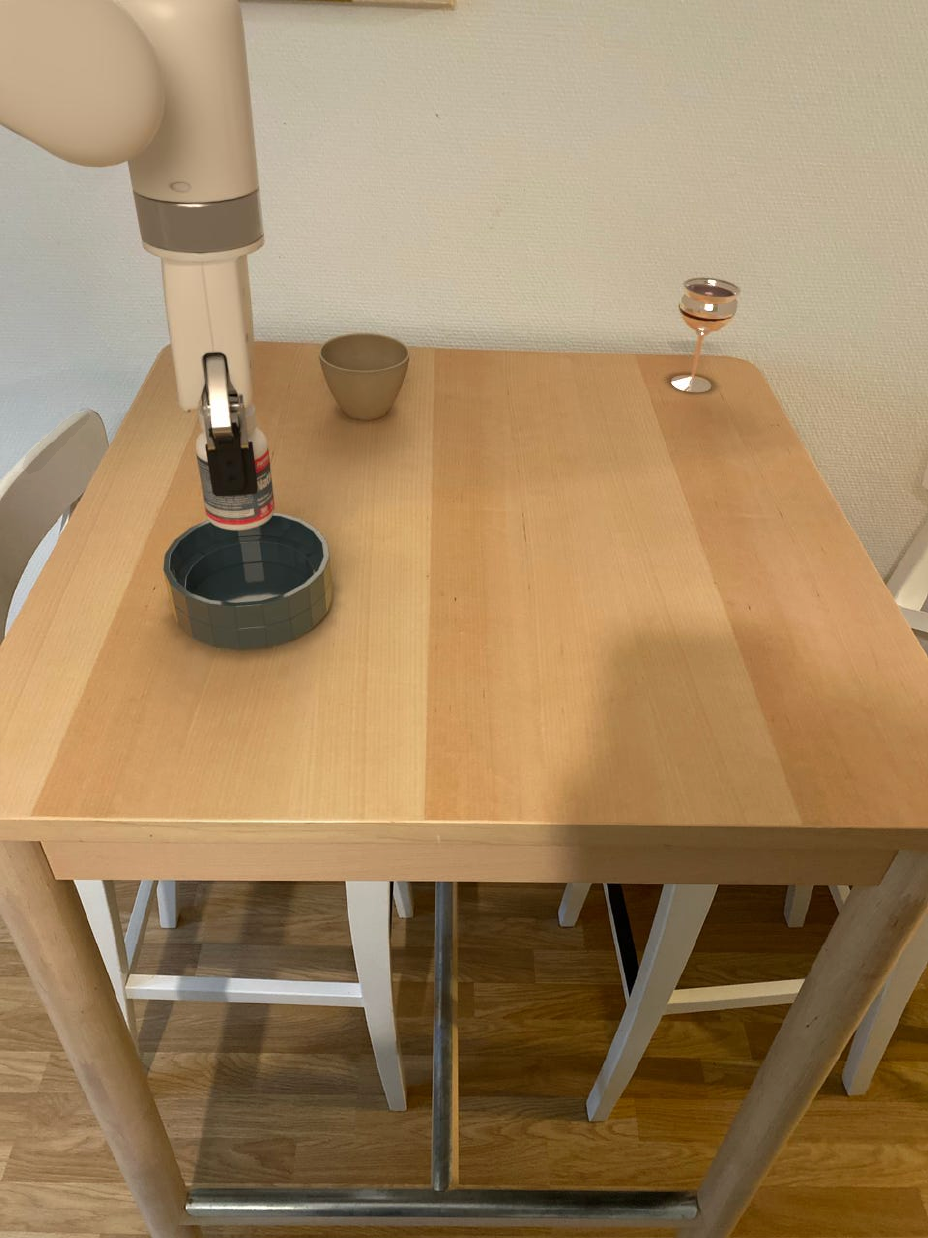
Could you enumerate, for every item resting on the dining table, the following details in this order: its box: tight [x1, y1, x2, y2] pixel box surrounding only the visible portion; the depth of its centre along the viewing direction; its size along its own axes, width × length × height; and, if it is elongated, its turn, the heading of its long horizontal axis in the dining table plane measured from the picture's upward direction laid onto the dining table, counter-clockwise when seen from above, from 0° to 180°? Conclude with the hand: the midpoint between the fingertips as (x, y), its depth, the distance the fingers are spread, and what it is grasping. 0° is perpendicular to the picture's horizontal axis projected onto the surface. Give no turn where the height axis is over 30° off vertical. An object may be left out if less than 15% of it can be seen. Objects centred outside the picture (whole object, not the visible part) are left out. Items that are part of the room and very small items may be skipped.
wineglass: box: [670, 276, 742, 393], centre depth 109 cm, size 7×7×12 cm
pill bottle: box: [195, 397, 276, 530], centre depth 68 cm, size 5×5×9 cm
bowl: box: [162, 512, 333, 651], centre depth 75 cm, size 13×13×5 cm
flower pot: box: [317, 332, 411, 421], centre depth 102 cm, size 10×10×7 cm
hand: (235, 469), depth 68 cm, fingers closed on pill bottle, 5 cm apart
